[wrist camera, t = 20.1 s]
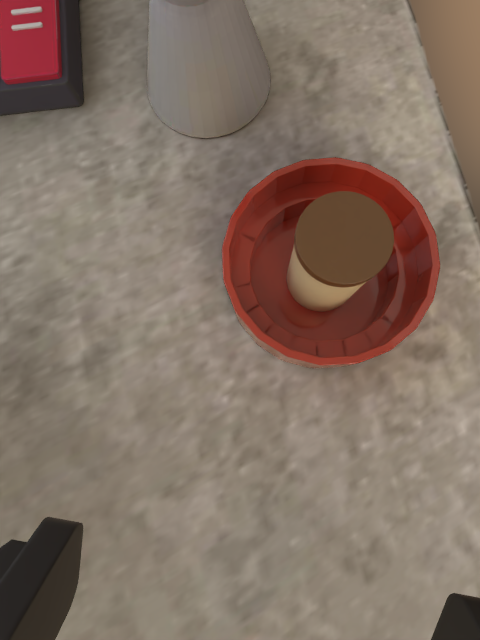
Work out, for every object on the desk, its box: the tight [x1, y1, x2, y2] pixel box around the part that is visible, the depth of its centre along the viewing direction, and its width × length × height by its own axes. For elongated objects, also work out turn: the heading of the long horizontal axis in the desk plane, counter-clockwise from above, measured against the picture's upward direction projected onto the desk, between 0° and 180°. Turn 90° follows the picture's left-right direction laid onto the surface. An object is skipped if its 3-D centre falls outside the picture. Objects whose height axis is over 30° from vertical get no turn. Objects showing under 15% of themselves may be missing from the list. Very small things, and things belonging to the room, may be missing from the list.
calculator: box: [0, 0, 83, 115], centre depth 35 cm, size 11×4×15 cm
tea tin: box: [287, 191, 394, 312], centre depth 27 cm, size 5×5×9 cm
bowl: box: [222, 157, 440, 368], centre depth 29 cm, size 14×14×6 cm
